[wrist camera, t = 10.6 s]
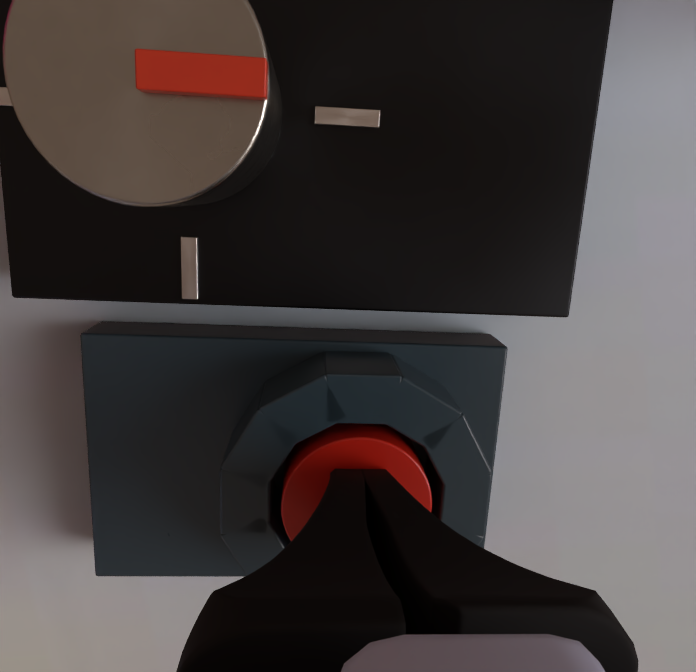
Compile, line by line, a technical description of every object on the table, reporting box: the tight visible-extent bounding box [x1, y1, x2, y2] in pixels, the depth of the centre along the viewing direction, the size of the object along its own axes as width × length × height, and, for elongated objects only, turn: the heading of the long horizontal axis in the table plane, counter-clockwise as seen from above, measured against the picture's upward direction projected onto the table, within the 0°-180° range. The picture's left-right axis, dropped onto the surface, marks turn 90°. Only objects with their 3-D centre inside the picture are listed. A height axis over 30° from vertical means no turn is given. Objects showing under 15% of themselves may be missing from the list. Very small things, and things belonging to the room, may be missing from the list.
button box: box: [80, 321, 507, 576], centre depth 15 cm, size 11×7×4 cm, turn 87°
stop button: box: [281, 423, 432, 541], centre depth 14 cm, size 4×4×2 cm
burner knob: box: [3, 0, 282, 208], centre depth 10 cm, size 4×4×4 cm
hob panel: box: [0, 0, 613, 317], centre depth 14 cm, size 13×8×3 cm, turn 87°
